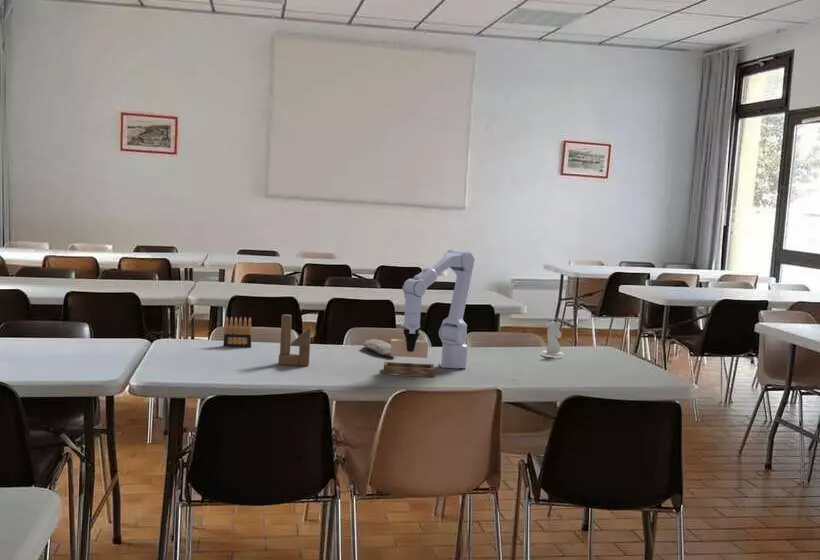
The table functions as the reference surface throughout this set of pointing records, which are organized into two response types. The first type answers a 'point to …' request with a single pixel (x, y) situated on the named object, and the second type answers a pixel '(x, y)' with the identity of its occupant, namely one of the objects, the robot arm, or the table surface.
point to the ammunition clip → (237, 333)
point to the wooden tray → (409, 369)
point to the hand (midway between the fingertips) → (410, 350)
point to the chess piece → (553, 340)
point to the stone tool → (378, 346)
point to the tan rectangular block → (401, 348)
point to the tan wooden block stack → (293, 344)
